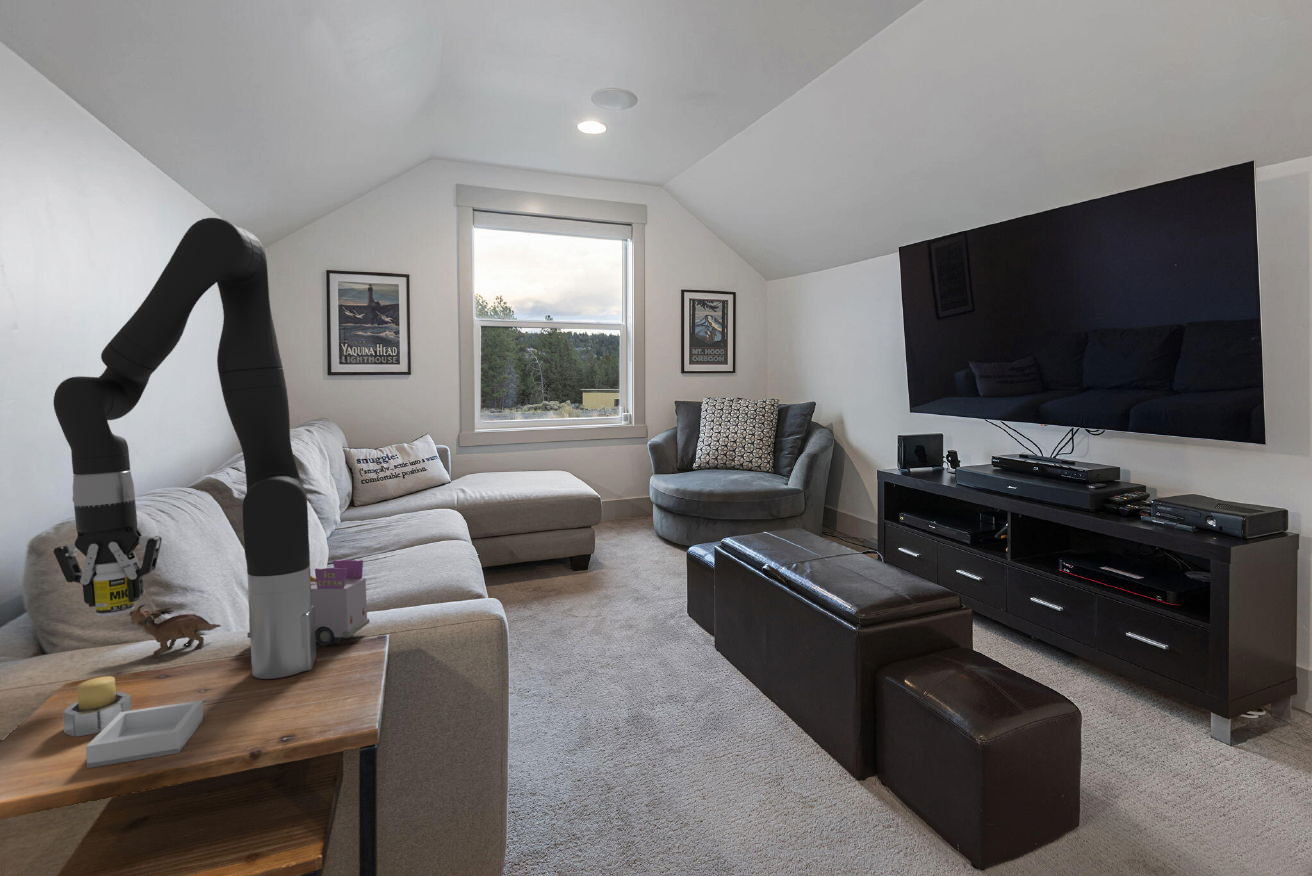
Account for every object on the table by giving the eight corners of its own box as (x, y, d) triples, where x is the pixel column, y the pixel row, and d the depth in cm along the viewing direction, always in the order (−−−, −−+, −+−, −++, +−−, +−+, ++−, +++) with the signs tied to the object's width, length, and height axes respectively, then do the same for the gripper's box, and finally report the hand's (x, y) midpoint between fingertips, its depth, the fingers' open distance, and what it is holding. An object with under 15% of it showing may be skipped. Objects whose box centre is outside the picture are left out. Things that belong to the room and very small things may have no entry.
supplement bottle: (111, 617, 101) (107, 566, 101) (88, 616, 102) (83, 565, 102) (141, 608, 106) (137, 558, 105) (119, 607, 107) (114, 558, 106)
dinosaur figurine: (129, 664, 112) (126, 612, 112) (131, 654, 117) (128, 604, 117) (222, 645, 121) (220, 597, 120) (221, 637, 125) (218, 590, 125)
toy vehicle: (276, 631, 128) (272, 558, 127) (371, 631, 127) (368, 557, 126) (245, 649, 119) (241, 569, 118) (347, 648, 118) (344, 568, 117)
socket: (138, 708, 95) (136, 689, 95) (117, 730, 89) (116, 709, 88) (81, 717, 93) (80, 697, 92) (55, 739, 86) (54, 718, 86)
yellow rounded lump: (121, 694, 93) (120, 674, 93) (108, 706, 89) (107, 685, 89) (87, 699, 92) (86, 679, 91) (72, 711, 88) (71, 690, 88)
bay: (203, 719, 91) (202, 700, 91) (179, 752, 82) (178, 731, 82) (121, 731, 88) (120, 712, 88) (87, 768, 79) (86, 746, 79)
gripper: (167, 493, 109) (175, 590, 110) (62, 501, 104) (72, 602, 105) (148, 499, 102) (157, 603, 103) (35, 507, 97) (46, 616, 98)
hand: (114, 602), depth 104 cm, fingers closed on supplement bottle, 4 cm apart
